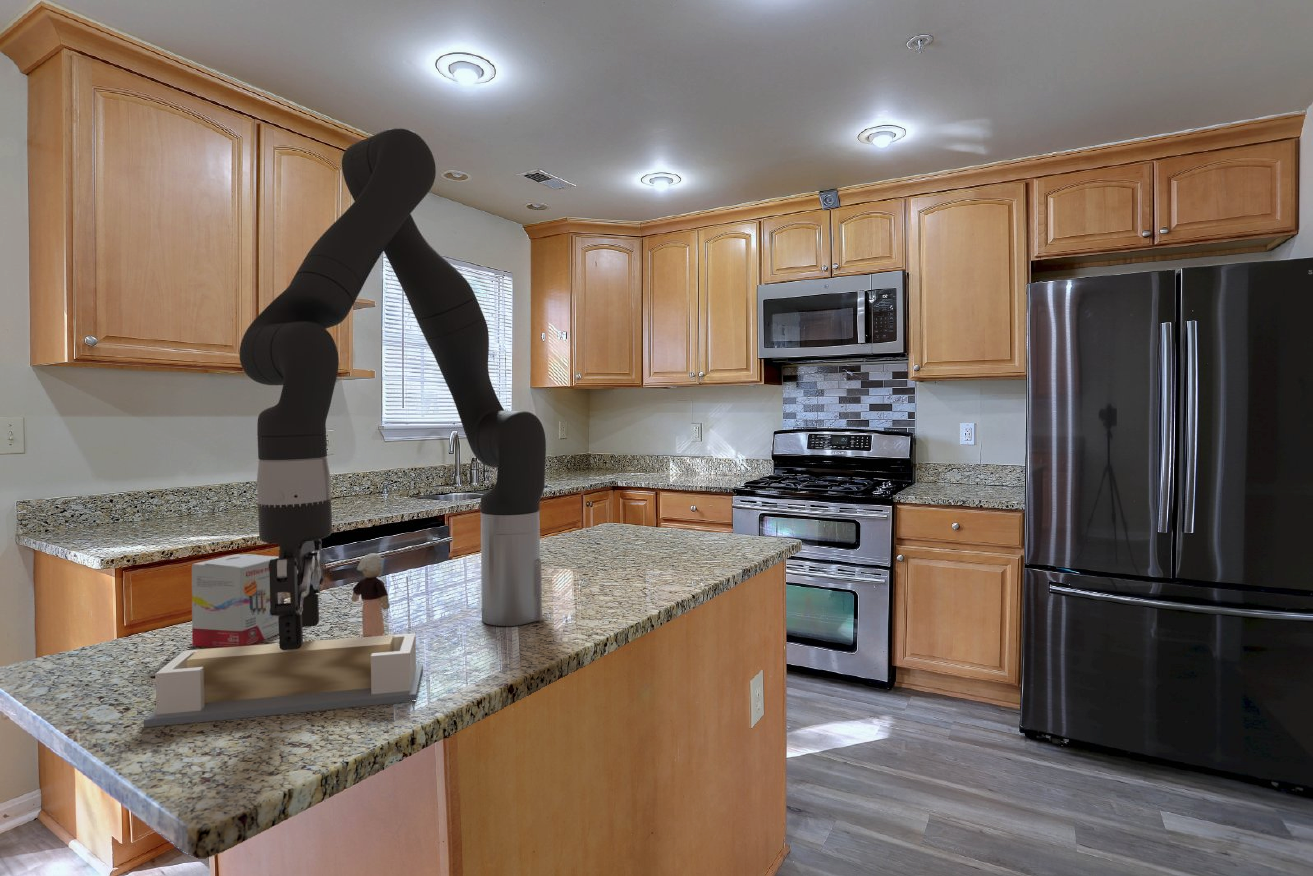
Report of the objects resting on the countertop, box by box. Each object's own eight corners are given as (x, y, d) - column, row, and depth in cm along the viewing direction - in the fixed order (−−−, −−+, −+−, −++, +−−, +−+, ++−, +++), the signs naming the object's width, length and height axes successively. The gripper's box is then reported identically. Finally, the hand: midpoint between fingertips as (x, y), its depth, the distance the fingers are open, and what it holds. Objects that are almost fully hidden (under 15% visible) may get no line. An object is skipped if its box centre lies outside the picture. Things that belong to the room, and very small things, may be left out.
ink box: (242, 650, 98) (240, 565, 97) (190, 646, 100) (188, 563, 99) (286, 631, 106) (285, 553, 106) (237, 628, 108) (236, 551, 108)
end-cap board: (422, 670, 90) (422, 630, 90) (415, 701, 80) (415, 655, 80) (182, 691, 83) (181, 647, 83) (143, 727, 73) (142, 678, 73)
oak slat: (394, 675, 86) (393, 635, 86) (390, 686, 82) (390, 643, 82) (200, 692, 81) (199, 649, 80) (188, 704, 77) (186, 659, 77)
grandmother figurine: (403, 639, 102) (401, 552, 102) (385, 647, 99) (383, 557, 98) (360, 634, 105) (359, 549, 104) (341, 641, 101) (339, 554, 101)
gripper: (317, 504, 75) (323, 654, 76) (341, 489, 89) (346, 616, 89) (238, 507, 73) (245, 661, 74) (275, 492, 87) (281, 621, 87)
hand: (300, 636), depth 81 cm, fingers open, 8 cm apart
